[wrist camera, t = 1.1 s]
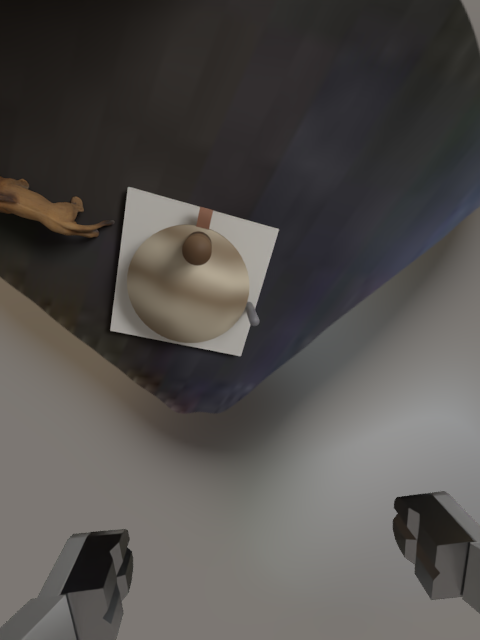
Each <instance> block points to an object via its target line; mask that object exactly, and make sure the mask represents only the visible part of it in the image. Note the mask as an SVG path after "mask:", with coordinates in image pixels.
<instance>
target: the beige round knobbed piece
mask: <svg viewBox="0 0 480 640" xmlns="http://www.w3.org/2000/svg"><path fill="white" fill-rule="evenodd" d="M212 213H213V210H211V209H207V208H203V207H200V210H199V215H198V220H197V224H196V225H189V224H184V225H176V226H171V227H168V228H165V229H163V230H161V231H159V232H157V233H155V234H153V235H152V236H150V237H149V238H148V239H146V240H145V241H144V242H143V243H142V244H141V245H140V247H139V248H138V249H137V251H136V252H135V254H134V256H133V258H132V260H131V262H130V265H129V269H128V274H127V290H128V295H129V299H130V301H131V304H132V306H133V308H134V310H135V312H136V314H137V315H138V316H139V318H140V319H141V320H142V321H143V322H144V324H145V325H147V326H148V327H149V328H150V329H151V330H153V331H154V332H156V333H157V334H159V335H161V336H163V337H165V338H167V339H170V340H173V341H177V342H184V343H198V342H204V341H208V340H211V339H214V338H216V337H218V336H220V335H222V334H223V333H225V332H226V331H228V330H229V329H230V328H231V327H233V325H234V324H235V323H236V322H237V321H238V320H239V318H240V317H241V315H242V313H243V311H244V310H245V307H246V304H247V301H248V297H249V288H250V286H249V276H248V271H247V268H246V265H245V263H244V261H243V259H242V257H241V255H240V254H239V252H238V251H237V249H236V248H235V247H234V246H233V244H232V243H231V242H230V241H228V240H227V239H226V238H225V237H224V236H222V235H221V234H219V233H218V232H216V231H214V230H211V229H209V227H210V222H211V218H212Z"/></svg>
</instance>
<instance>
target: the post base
mask: <svg viewBox="0 0 480 640" xmlns="http://www.w3.org/2000/svg"><path fill="white" fill-rule="evenodd" d="M199 210H200V207H199V206H195V205H192V204H188V203H184V202H181V201H177V200H174V199H170V198H167V197H163V196H160V195H156V194H153V193H149V192H145V191H142V190H138V189H135V188H131V187H128V191H127V199H126V207H125V215H124V223H123V231H122V239H121V247H120V255H119V263H118V272H117V280H116V288H115V296H114V304H113V312H112V320H111V328H110V331H115V332H120V333H125V334H130V335H135V336H140V337H145V338H150V339H155V340H160V341H165V342H170V343H176V344H181V345H186V346H191V347H196V348H201V349H206V350H211V351H216V352H221V353H226V354H232V355H237V356H241V354H242V351H243V347H244V344H245V341H246V337H247V334H248V331H249V327H250V324H251V325H252V326H257V325H258V324H259V318H258V316H257V313H256V311H255V308H256V304H257V301H258V298H259V294H260V291H261V288H262V284H263V281H264V278H265V274H266V271H267V268H268V264H269V261H270V258H271V254H272V251H273V248H274V244H275V241H276V238H277V234H278V231H279V229H277V228H273V227H270V226H266V225H263V224H259V223H255V222H252V221H248V220H245V219H241V218H238V217H234V216H231V215H227V214H223V213H220V212H216V211H213V213H212V218H211V222H210V227H209V229H211V230H214V231H216V232H218V233H219V234H221V235H222V236H224V237H225V238H226V239H227V240H228V241H230V242H231V243H232V244H233V246H234V247H235V248H236V249H237V251H238V252H239V254H240V255H241V257H242V259H243V261H244V263H245V265H246V268H247V271H248V276H249V286H250V288H249V297H248V301H247V304H246V307H245V310H244V311H243V313H242V315H241V317H240V318H239V320H238V321H237V322H236V323H235V324H234V325H233V327H231V328H230V329H229V330H228V331H226V332H225V333H223V334H222V335H220V336H218V337H216V338H214V339H211V340H208V341H204V342H198V343H184V342H177V341H173V340H170V339H167V338H165V337H163V336H161V335H159V334H157V333H156V332H154V331H153V330H151V329H150V328H149V327H148V326H147V325H145V324H144V322H143V321H142V320H141V319H140V318H139V316H138V315H137V314H136V312H135V310H134V308H133V306H132V304H131V301H130V299H129V295H128V290H127V274H128V269H129V265H130V262H131V260H132V258H133V256H134V254H135V252H136V251H137V249H138V248H139V247H140V245H141V244H142V243H143V242H144V241H145V240H146V239H148V238H149V237H150V236H152V235H153V234H155V233H157V232H159V231H161V230H163V229H165V228H168V227H171V226H176V225H184V224H189V225H196V224H197V220H198V215H199Z"/></svg>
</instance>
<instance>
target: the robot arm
mask: <svg viewBox="0 0 480 640" xmlns="http://www.w3.org/2000/svg"><path fill="white" fill-rule="evenodd" d="M394 509H395V510H396V511H397V513H398V514H397V515H396V517H395V518H394V519H393V532H394V536H395V540H396V542H397V544H398V547H399V549H400V550H401V552H402V554H403V555H404V557H405V558H407V559H408V560H409V561H411V562H412V563H413V564H415V575H416V576H417V578H418V579H419V581H420V583H421V584H422V586H423V587H424V589H425V591H426V592H427V594H428V595H429V597H430V599H431V600H436V599H445V598H455V597H463V598H462V599H463V600H464V601H465V602H467V603H468V604H469V605H470V606H471V607H473V608H474V609H475V610H476V611H477V612H479V613H480V525H479V524H478V523H477V522H476V521H475V520H474V519H473V518H472V517H471V516H470V515H469V514H468V513H467V512H466V511H465V510H464V509H463V508H462V507H461V506H460V505H459V504H458V503H457V502H456V501H455V499H454V498H453V497H452V496H451V495H450V494H448V493H446V492H445V491H442V492H434V493H428V494H426V493H425V494H417V495H409V496H402V497H397V498H396V499H395V501H394ZM128 543H129V534H128V530H126V529H121V530H109V531H98V532H90V533H79V534H73V535H72V536H71V537H70V538H69V539H68V540H67V542H66V544H65V546H64V548H63V550H62V552H61V554H60V555H59V558H58V559H57V561H56V563H55V565H54V567H53V569H52V571H51V573H50V574H49V576H48V578H47V580H46V582H45V584H44V586H43V588H42V590H41V592H40V594H39V596H38V597H37V598H35V599H31V600H30V601H28V602H27V604H25V605H24V606H23V607H22V608H21V609H20V610H19V611H18V612H17V613H16V614H15V615H14V616H12V617H11V618H10V619H9V620H8V621H7V622H6V623H5V624H4V625H3V626H2V627H1V628H0V640H116V638H117V635H118V631H119V627H120V623H121V620H122V616H123V608H122V600H123V599H124V598H125V597H126V595H127V594H128V593H129V589H130V585H131V580H132V572H133V556H132V551H131V550H130V549H128V548H127V546H128Z"/></svg>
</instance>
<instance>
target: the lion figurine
mask: <svg viewBox="0 0 480 640" xmlns="http://www.w3.org/2000/svg"><path fill="white" fill-rule="evenodd" d="M28 188H29V184H28V182H27V181H26V180H24V179H20V180H18V181H17V180H14V179H11V178H7V179H6V178H2V177H1V176H0V213H1V212H3V213H7V214H10V213H13V214H15V215H18V216H20V217H23V218H27V219H31V220H36V221H39V222H41V223H42V224H43V225H45V226H46V227H47V228H49V229H50V230H51V231H54V232H57V233H61V234H64V235H81V236H85V237H88V238H92V237H98V235H99V231H98V230H97V229H98V228H100V227H103V226H106V225H108V226H109V225H112V224H114V221H113V220H104V221H102V222H100V223H98V224H95V225H87V226H85V225H78V224H77V223H76V222H75V221H74V220H75V218H76V216H77V213H78V212H83V211H84V209H83V203H82V201H81V199H80V198H78V197H72V199H71V203H67V202H62V203H60V202H58V203H51V202H50V201H48V200H47V199H46V198H44V197H43V196H41V195H40V194H38V193H35V192H33V191H30V190H28Z"/></svg>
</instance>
